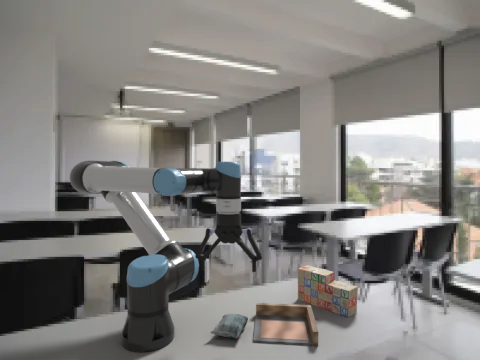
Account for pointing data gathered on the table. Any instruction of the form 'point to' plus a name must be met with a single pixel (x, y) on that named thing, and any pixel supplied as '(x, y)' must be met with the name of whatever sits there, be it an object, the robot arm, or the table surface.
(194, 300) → the table surface
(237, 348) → the table surface
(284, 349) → the table surface
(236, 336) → the packaged food
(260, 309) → the corner arena
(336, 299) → the stack of blocks
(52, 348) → the table surface
